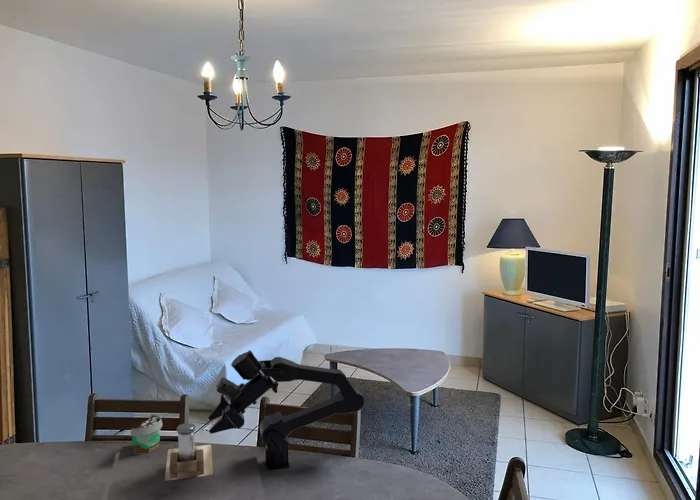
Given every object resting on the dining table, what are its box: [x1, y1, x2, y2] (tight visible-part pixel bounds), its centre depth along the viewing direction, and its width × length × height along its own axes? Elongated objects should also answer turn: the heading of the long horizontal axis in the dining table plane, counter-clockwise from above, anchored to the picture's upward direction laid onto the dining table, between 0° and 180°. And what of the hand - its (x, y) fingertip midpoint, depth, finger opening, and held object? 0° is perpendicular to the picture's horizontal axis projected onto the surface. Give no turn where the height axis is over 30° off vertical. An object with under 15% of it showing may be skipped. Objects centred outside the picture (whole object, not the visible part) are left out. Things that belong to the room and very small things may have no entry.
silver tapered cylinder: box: [176, 422, 196, 462], centre depth 162 cm, size 5×5×13 cm
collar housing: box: [164, 444, 214, 481], centre depth 168 cm, size 13×19×6 cm
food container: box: [130, 413, 163, 455], centre depth 176 cm, size 12×6×10 cm, turn 168°
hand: (209, 425), depth 163 cm, fingers open, 9 cm apart
